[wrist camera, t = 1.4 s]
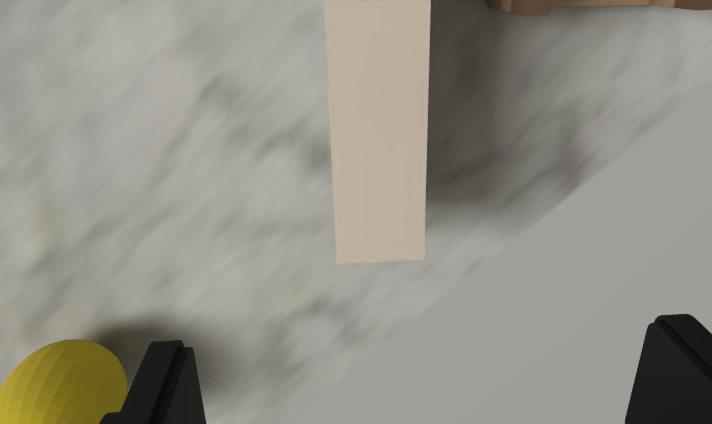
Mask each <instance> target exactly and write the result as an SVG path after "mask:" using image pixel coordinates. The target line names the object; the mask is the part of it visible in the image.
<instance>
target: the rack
mask: <svg viewBox="0 0 712 424" xmlns="http://www.w3.org/2000/svg"><path fill="white" fill-rule="evenodd" d="M616 5H657V6H666V7H674V8H682V9H691V10H712V0H488V7H489V8H493V9H499V10H503V11H507V12H511V13H515V14H519V15H547V14H548V8H550V7H583V6H616Z"/></svg>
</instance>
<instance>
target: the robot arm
mask: <svg viewBox="0 0 712 424" xmlns="http://www.w3.org/2000/svg"><path fill="white" fill-rule="evenodd" d="M99 424H206V420H205V414H204V408H203V402H202V396H201V391H200V385H199V379H198V373H197V368H196V362H195V356H194V351H193V348H192V347H184V344H183V342H182V341H181V340H172V341H153V342H151V344H150V345H149V347H148V349H147V352H146V354H145V356H144V358H143V361H142V363H141V365H140V367H139V370H138V372H137V374H136V376H135V379H134V381H133V383H132V385H131V388H130V390H129V392H128V394H127V397H126V399H125V401H124V403H123V406H122V408H121V410H120V412H110V413H107V414H105V415H104V416H103V418H102V419H101V421H100V422H99ZM625 424H712V334H711V333H710V332H709V331H708V330H707V329H706V328H705V327H704V326H703V325H702V324H701V323H700V322H699V321H697V320H696V319H695V318H694V317H693V316H691V315H689V314H677V315H661V316H658V317H657V318H656V319H655V322H654V323H651V324H650V325H649V326H648V328H647V331H646V335H645V340H644V344H643V348H642V352H641V357H640V360H639V365H638V369H637V373H636V377H635V381H634V385H633V389H632V393H631V398H630V402H629V406H628V410H627V414H626V418H625Z"/></svg>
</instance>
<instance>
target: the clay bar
mask: <svg viewBox="0 0 712 424" xmlns="http://www.w3.org/2000/svg"><path fill="white" fill-rule="evenodd" d="M430 13H431V0H324V20H325V41H326V62H327V83H328V104H329V125H330V145H331V166H332V187H333V208H334V226H335V244H336V262H337V264H349V263H368V262H387V261H406V260H424V244H425V205H426V167H427V128H428V90H429V51H430Z"/></svg>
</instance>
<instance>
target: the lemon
mask: <svg viewBox="0 0 712 424" xmlns="http://www.w3.org/2000/svg"><path fill="white" fill-rule="evenodd" d="M127 394H128V382H127V378H126V374H125V371H124V368H123V366H122V365H121V363H120V362H119V360H118V358H117V357H116V356H115V355H114V354H113V353H112V352H111V351H110V350H108V349H107V348H105V347H103V346H102V345H100V344H97V343H94V342H92V341H87V340H81V339H76V340H63V341H59V342H55V343H52V344H49V345H47V346H45V347H43V348H41V349H39V350H37V351H35V352H34V353H32V354H31V355H29V356H28V357H27V358H26V359H24V360H23V361H22V362H21V363H20V364H19V365H18V366H17V367H16V368H15V369H14V370H13V371H12V372H11V374H10V375H9V376H8V377H7V378H6V380H5V381H4V383H3V384H2V386H1V388H0V424H99V422H100V421H101V419H102V418H103V416H104V415H105V414H107V413H110V412H120V410H121V408H122V406H123V403H124V401H125V399H126V397H127Z"/></svg>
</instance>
